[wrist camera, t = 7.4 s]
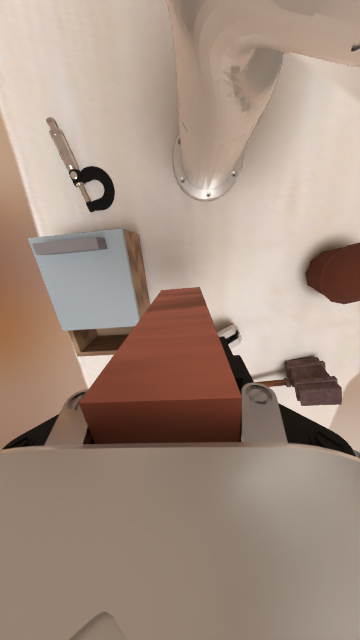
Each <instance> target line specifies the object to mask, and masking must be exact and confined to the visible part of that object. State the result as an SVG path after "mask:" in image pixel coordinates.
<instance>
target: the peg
mask: <svg viewBox="0 0 360 640" xmlns="http://www.w3.org/2000/svg"><path fill="white" fill-rule="evenodd" d="M79 405H80V408H81V410H82V413H83V415H84V418H85V420H86V423H87V425H88V427H89V430H90V432H91V435H92V437H93V440H94V442H95V444H128V443H202V442H239V440H240V423H241V407H242V396H241V394H240V391H239V389H238V386H237V383H236V381H235V378H234V375H233V373H232V370H231V368H230V365H229V362H228V360H227V357H226V355H225V352H224V349H223V347H222V344H221V342H220V339H219V336H218V334H217V331H216V329H215V326H214V323H213V321H212V318H211V316H210V313H209V310H208V308H207V305H206V302H205V300H204V297H203V295H202V292H201V289H200V287H196V288H183V289H171V290H161V292H160V293H159V294H158V296H157V297H156V298H155V300H154V301H153V303H152V304H151V305H150V307H149V308H148V309H147V311H146V312H145V313H144V315H143V316H142V318H141V319H140V320H139V322H138V323H137V324H136V326H135V327H134V328H133V330H132V331H131V333H130V334H129V335H128V337H127V338H126V339H125V341H124V342H123V343H122V345H121V346H120V348H119V349H118V350H117V352H116V353H115V354H114V356H113V357H112V358H111V360H110V361H109V363H108V364H107V365H106V367H105V368H104V369H103V371H102V372H101V373H100V375H99V376H98V378H97V379H96V380H95V382H94V383H93V384H92V386H91V387H90V388H89V390H88V391H87V393H86V394H85V395H84V397H83V398H82V399H81V401H80V402H79Z"/></svg>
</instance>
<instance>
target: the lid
mask: <svg viewBox="0 0 360 640" xmlns="http://www.w3.org/2000/svg"><path fill="white" fill-rule="evenodd" d="M28 240H29V243H30V245H31V248H32V251H33V253H34V256H35V259H36V261H37V264H38V266H39V269H40V272H41V274H42V277H43V279H44V282H45V285H46V288H47V290H48V293H49V295H50V298H51V301H52V303H53V306H54V309H55V311H56V314H57V316H58V319H59V322H60V324H61V327H62V329H63V331H68V330H84V329H99V328H115V327H130V326H136V324H137V323H138V322H139V320H140V314H139V309H138V303H137V298H136V293H135V287H134V282H133V277H132V271H131V266H130V261H129V255H128V250H127V245H126V239H125V234H124V229H122V228H121V229H112V230H102V231H93V232H83V233H74V234H65V235H55V236H46V237H36V238H28Z"/></svg>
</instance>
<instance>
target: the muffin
mask: <svg viewBox="0 0 360 640" xmlns="http://www.w3.org/2000/svg"><path fill="white" fill-rule="evenodd" d="M305 275H306V278H307V285H308V286H310V287H312V288H314V289H315V290H316V291H318V292H320V293H321V294H323V295H324V296H326V297H327V298H328V299H329V300H330V301H331V302H336V303H341V304H347V303H352V302H357V301H360V243H356V244H352V245H348V246H346V247H344V248H339V249H334V250H330V251H325V252H322V253H321V254H320V255H319V256H318V257H317V258H315V259H314V260H312V261H311V262H310V265H309V268H308V270H307V271H306V273H305Z"/></svg>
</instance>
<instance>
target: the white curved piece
mask: <svg viewBox="0 0 360 640" xmlns="http://www.w3.org/2000/svg"><path fill="white" fill-rule="evenodd" d="M217 334H218V336H219V337H221V336H224V337H225V339H226V341H227V343H228V345H229V347H230V349H232V348H233V347H235V346H237V345H238V344H240V342H241V340H242V339H241V336H240V333H239V332H237V331H236V326H235V325H234V324H232V325H230V326H228V327H226V328H224V329H222V330H220V331H218V332H217Z"/></svg>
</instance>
